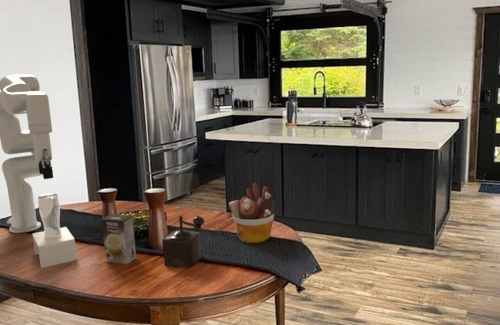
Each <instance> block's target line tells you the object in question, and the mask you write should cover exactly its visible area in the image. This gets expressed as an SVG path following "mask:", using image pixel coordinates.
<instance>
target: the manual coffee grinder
mask: <svg viewBox="0 0 500 325" xmlns="http://www.w3.org/2000/svg"><path fill="white" fill-rule="evenodd" d="M178 218H179V219H178V222H179V229H178V230H176V229H175V230H174V231H172V232H170V233H169V234H168V235H167V236H165V237H164V238H163V239H162V242H161V243H162V250H163V264H164V266H165V267H173V268H193V267H194V266H195V265H196V264H197V263H198V262H199V261H200V260H201V258H202V257H203V255H202V254H203V252H202V239H201V238H202V237H201V232H200V231H201V230H202V226H203V225H204V224H205V218H204V217H202V216H201V215H196V216H195V217H193V219H192V222H193V223H191V222H188V221H184V219H183V215H179V216H178ZM183 224H184V225H186V226H191V227H193V230H194V231H192V230H191V231H189V230H188V229H187V230H186V229H184V228H183ZM201 256H202V257H201Z"/></svg>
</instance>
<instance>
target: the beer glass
mask: <svg viewBox="0 0 500 325" xmlns="http://www.w3.org/2000/svg"><path fill="white" fill-rule="evenodd" d="M58 196H59V195H58V194H57V193H45V194H41V195H39V196H38V197H37V198H38V211H39V215H40V219H41V221H42V225H43V231H44V237H45V238H56V237H59V236H61V235H62V232H61V229H60V228H61V225H60V216H61V208H60V207H61V206H60V200H59V197H58Z"/></svg>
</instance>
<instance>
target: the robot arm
mask: <svg viewBox="0 0 500 325" xmlns="http://www.w3.org/2000/svg"><path fill="white" fill-rule="evenodd" d="M40 89H41V88H40V82H39V80H38V78H37V77H35V75H33V74H13V75H5V76H4V77H2V78H1V79H0V145H1V149H2V151H3V152H4V154H7V155H17V154H25V153H30V155H23V156H16V157H10V158H7V159H5V160H4V161H3V162H2V164H1V170H2V174H3V176H4V180H5V183H6V188H7V194H8V200H9V207H10V214H11V217H9V218H8V220H6V224H10V227H9V228H8V229H9V232H10V233H13V234H14V233H15V234H22V233H28V232H33V231H36V230H38V229H40V228H41V227H42V223H41V222H40V221H38V220H37V214H36V206H35V200H34V192H33V187H32V185H31V184H29V182H27V181H26V180H25V179H28V178H34V177H35V178H36V177H41V176H42V177H43V180H49V179H54V172H53V166H52V162H51V161H52V159H53V155H52V153H53V152H52V144H51V138H50V133H53V125H52V119H51V109H50V101H49V96H48V94H47V93H44V92H42V91H40ZM24 114H26V117H27V125H28V129H26V130H22V129H21V128H22V127H21V123H20V120H19V118H18V117H17V115H24Z"/></svg>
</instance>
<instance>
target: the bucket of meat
mask: <svg viewBox="0 0 500 325" xmlns="http://www.w3.org/2000/svg"><path fill="white" fill-rule="evenodd" d="M252 191H253V193H252ZM246 195H247V196H243V197H242V198H241V199H240V200H239V199H236V200H233V201H230V202H229V203H228V205H229V209H230V210H231V216H232V219H233V222H234V225H235V229H236V232H237V235H238V238H239V239H240V241H241V242H243V243H247V244H260V243H263V242H265V241H266V240H268V239H270V237H271V232H272V226H273V222H274V217H275V201H274V200H273V199H270V198H271V196H272V194H270V193H269V188H268V186H263V188H262V196H261V197H260V192H259V186H258V183H257V182H254V183H253V184H252V190H251V189H250V188H247V189H246Z"/></svg>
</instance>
